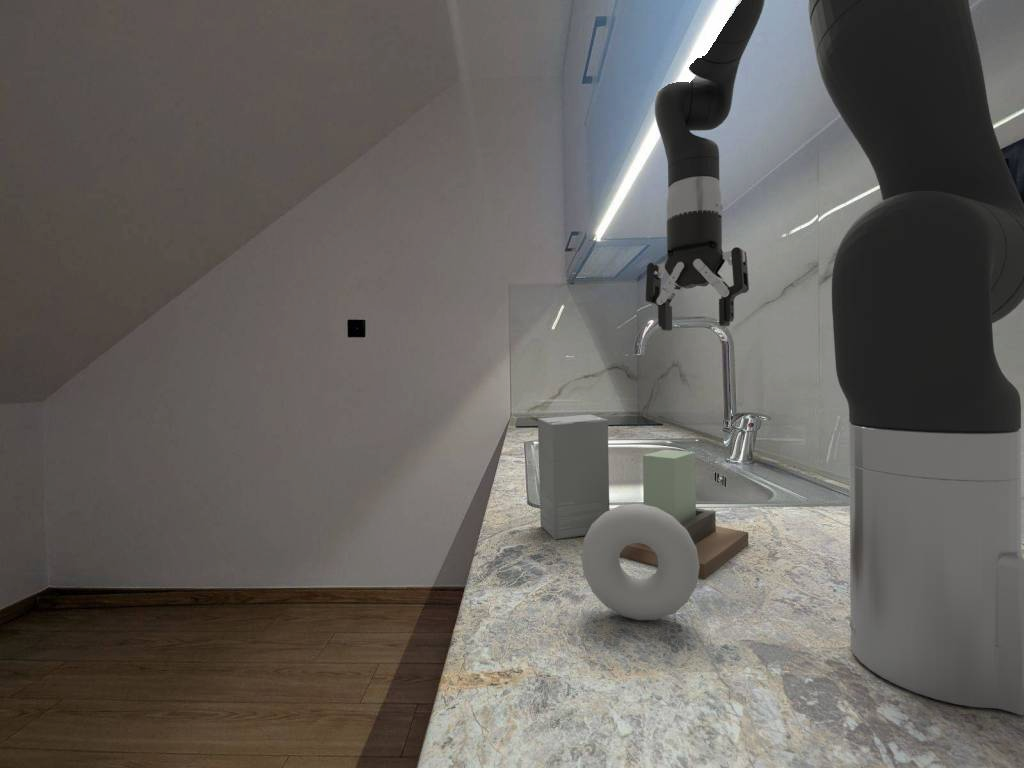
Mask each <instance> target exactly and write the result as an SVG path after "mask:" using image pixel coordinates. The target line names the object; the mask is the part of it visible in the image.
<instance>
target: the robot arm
mask: <svg viewBox="0 0 1024 768" xmlns="http://www.w3.org/2000/svg"><path fill="white" fill-rule="evenodd" d="M765 1H766V0H742V1H741V3H740V4H739V5H738V6H737V7H736V9H735V11H734V13H733V14H732V16H731V17H730V18H729V20H728V21H727V23H726V24H725V26H724V27H723V29H722V31H721V32H720V34H719V35H718V37H717V39H716V41H715V42H714V43H713V45H712V47H711V48H710V50H709V51H708V53H707V54H706V55H705V56H702V58H697V59H696V60H695V61H694V63H692V64H691V65H690V67H689V69H688V70H689V71H690V73H692V75H696V76H695V78H694V79H693V80H692V81H691V82H690V83H689V82H676V83H672V84H668V85H667V86H665V87H664V88H662V89H661V90H660V91H658V90H657V92H656V95H655V99H654V105H653V107H654V116H655V117H654V118H655V121H656V125H657V128H658V129H657V130H658V131H659V135H660V138H661V141H662V143H663V149H664V152H665V156H666V161H667V188H668V189H667V198H666V251H667V258H666V261H665V262H664V263H663V262H662V263H653V262H650V263H648V264H647V265H646V283H645V302H647V303H650V304H655V305H656V306H657V319H658V320H657V322H658V323H657V324H658V326H659V327H660V328H661V331H665V332H670V331H672V330H673V307H672V306H671V305H672V303H673V302H674V300H675V299H676V297H677V296H678V295H679V294H680V293H681V292H682V291H683V289H687V290H688V289H693V288H695V287H707V286H708V285H710V286H711V287H713V288H714V289H715V291H716V292H717V293H718V294H719V296H720V298H718V323H719V326H720V327H730V324H731V323H732V322H733V321H734V319H735V298H736V297H738V296H739V295H741V294H746V293H748V292H749V289H750V285H749V273H748V272H749V271H748V260H747V259H748V258H747V252H746V251H745V250H744V249H742V248H741V247H739V246H737V247H736V246H735V247H733V248H732V249H731V250H728V251H725V252H724V251H723V247H722V245H723V230H722V229H723V228H722V227H723V225H722V223H723V219H722V217H723V216H722V212H723V203H722V192H721V185H720V150H719V147H718V144H717V143H716V142H715V141H713V140H712V139H710V138H709V139H708V138H705V137H702V136H699V135H696V134H694V133H692V131H699V132H701V131H712V130H714V129H716V128H718V127H719V126H720V125H722V124H723V123H724V122H725V120H727V118H728V116H729V115H730V112H731V109H732V102H733V98H734V97H733V96H734V88H735V83H736V78H737V74H738V70H739V65H740V63H741V59H742V57H743V55H744V53H745V51H746V49H747V46H748V44H749V41H750V40H751V37H752V35H753V34H754V32H755V29H756V27H757V25H758V22H759V20H760V18H761V15H762V12H763V9H764V6H765ZM969 1H970V0H808V18H809V23H810V25H809V26H810V31H811V36H812V40H813V46H814V51H815V56H816V57H815V58H816V61H817V65H818V70H819V73H820V76H821V80H822V82H823V85H824V87H825V89H826V91H827V93H828V96H829V97H830V99H831V101H832V103H833V105H834V107H835V108H836V110H837V111H838V113H839V115H840V116H841V118H842V119H843V121H844V123H845V124H846V125H847V128H848V129H849V130H850V132H851V133H852V135H853V136H854V138H855V140H856V142H857V143H858V144H859V145H860V147H861V149H862V150H863V152H864V154H865V155H866V158H867V159H868V161H869V162H870V165H871V167H872V169H873V171H874V174H875V176H876V180H877V182H878V185H879V190H880V195H881V198H882V201H880V202H878V203H876V204H875V205H873V206H871V207H870V208H868V209H867V210H866V211H865V212H864V213H862V214H861V215H860V216H859V217H857V219H856V220H855V221H854V222H853V223H852V225H851V226H850V227H849V229H848V230H847V232H846V233H845V235H844V236H843V238H842V240H841V242H840V244H839V247H838V249H837V251H836V255H835V259H834V263H833V267H832V268H833V269H832V276H831V311H832V325H833V326H832V327H833V329H832V330H833V343H834V358H835V360H834V361H835V371H836V372H835V373H836V377H837V380H838V381H837V382H838V384H839V387H840V389H841V391H842V393H843V394H844V397H845V399H846V402H847V404H848V413H849V414H848V417H849V418H848V420H849V421H848V422H849V423H848V430H849V431H848V432H849V433H848V434H849V435H848V439H849V440H848V441H849V442H848V443H849V445H848V446H849V447H848V448H849V449H848V450H849V460H848V461H849V465H848V467H849V579H850V580H849V581H850V582H849V587H850V588H849V590H850V592H849V593H850V595H849V597H850V601H849V602H850V616H849V628H850V649H851V651H852V653H853V655H854V657H855V658H856V659H857V660H858V662H860V663H861V664H862V665H863V666H865V667H866V668H867V669H868V670H870V671H872V672H873V673H875V674H876V675H878V676H879V677H881V678H883V679H885V680H887V681H888V682H890V683H892V684H894V685H896V686H899V687H901V688H903V689H906V690H908V691H910V692H913V693H915V694H919V695H922V696H925V697H927V698H932V699H934V700H937V701H942V702H946V703H951V704H954V705H960V706H965V707H972V708H980V709H981V708H984V709H985V708H986V709H998V710H1003V711H1006V712H1010V713H1013V714H1017V715H1020V716H1024V555H1023V551H1022V477H1021V476H1022V432H1021V428H1022V405H1021V404H1022V403H1021V396H1020V392H1019V391H1018V389H1017V388H1016V387H1015V385H1014V384H1013V383H1011V381H1010V380H1009V379H1008V378H1007V377H1006V376H1005V374H1004V373H1003V371H1002V369H1001V368H1000V366H999V362H998V359H997V357H996V353H995V347H994V333H993V324H995V323H996V322H998V321H1000V320H1002V319H1003V318H1005V317H1006V316H1008V315H1009V314H1011V313H1012V312H1013V311H1014V310H1015V309H1016V308H1017V307H1018V306H1019V305H1020V304H1022V302H1023V301H1024V202H1023V200H1022V197H1021V196H1020V192H1019V191H1018V188H1017V186H1016V183H1015V181H1014V178H1013V175H1012V174H1011V172H1010V168H1009V167H1008V164H1007V161H1006V159H1005V157H1004V154H1003V152H1002V149H1001V146H1000V145H999V140H998V139H997V136H996V135H997V134H996V132H995V128H994V124H993V121H992V117H991V113H990V106H989V101H988V95H987V87H986V82H985V76H984V71H983V66H982V59H981V54H980V49H979V45H978V40H977V36H976V32H975V29H974V28H975V27H974V23H973V19H972V12H971V7H970V2H969ZM726 261H727V264H728V265H729V266H731V269H732V281H733V284H732V285H731V286H730V285H729V284H728V283H727V282H728V281H726V280H725V278H724V277H723V275H721V274H720V273H719V272H720V270H721V269H722V267H723V265H724V264H725V262H726ZM665 272H666V273H667V274H668V275H669V277H668V279H667V280H666V282H665V283H664V285H663V287H662V278H663V277H664V276H665ZM661 287H662V290H661Z"/></svg>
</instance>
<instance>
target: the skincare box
mask: <svg viewBox="0 0 1024 768" xmlns="http://www.w3.org/2000/svg"><path fill="white" fill-rule="evenodd" d="M537 435H538V437H537V439H538V440H537V443H538V445H537V446H538V475H539V478H538V480H539V482H538V483H539V506H540V507H539V511H540V526H541V527H542V529H544V530H545V531H546V532H547V533H548V534H549V535H550V536H551V537H552V538H553V539H554V540H561V539H563V540H564V539H569V538H577V537H583V536H584V537H585V536H586V535H587V533H588V531H589V529H590V527H591V525H592V524H593V523H594V522H595V521H596V520H597V519H598V518H599V517H600V516H601V515H602V514H603V513H605V512H607V511H609V510H611V509H610V467H609V466H610V465H609V463H610V461H609V420H608V419H607V418H603V417H600V416H597V415H594V414H581V415H570V416H557V417H556V416H555V417H540V418H539V417H538V418H537Z"/></svg>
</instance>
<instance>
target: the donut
mask: <svg viewBox="0 0 1024 768" xmlns="http://www.w3.org/2000/svg"><path fill="white" fill-rule="evenodd" d="M582 542H583V544H582V551H581V563H582V570H583V576H584V577H585V580H586V582H587V584H588V586H589V589H591V592H592V593H593V594H594V596H595V597H596V598H597V599H598V600H599V601H600V602H601V603H602V604H603V605H604V606H605V607H607V608H608V609H610V610H611V611H613V612H615V613H616V614H618V615H620V616H621V617H624V618H629V619H633V620H636V621H657V620H660V619H663V618H665V617H669V616H672V615H673V614H675V613H677V611H679V610H681V609H682V607H683V606H685V605H686V604H687V603H688V602H689V601H690V599H691V597H692V595H693V593H695V590H696V589H697V586H698V580H699V577H698V574H699V568H700V565H699V560H698V554H697V548H696V546H695V544H694V542H693V540H692V539H691V537H690V535H689V533H688V531H687V530H686V529H685V528H684V527H683V526H682V525H681V524H680V523H679V522H678V521H677V520H676V519H675V518H674V517H673V516H671V515H670V514H668V513H666V512H664V511H662V510H660V509H659V508H657V507H653V506H648V505H644V504H643V503H630V504H620V505H618V506H616V507H613V508H611V509H610V510H609V511H607V512H605V513H603V514H602V515H601V516H600V517H599V518H598V519H597V520H596V521H595V522H594V523H593V524H592V525H591V527H590V529H589V531H588V533H587V535H584V538H583V541H582ZM632 543H641V544H645V545H647V546H648V547H650V548H651V549H652V550H653V551H654V552H655V553H656V555H657V557H658V562H659V564H658V566H657V569H656V570H655V572H654V573H653V574H652V575H651V576H648V577H646V578H637V577H633V576H631V575H629V574H628V573H627V572H625V570H624V569H623V567H622V566H621V562H620V557H621V556H620V553H621V551H622V549H623V548H624V547H626V546H627V545H630V544H632Z"/></svg>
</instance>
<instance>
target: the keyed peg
mask: <svg viewBox="0 0 1024 768" xmlns="http://www.w3.org/2000/svg"><path fill="white" fill-rule="evenodd" d="M642 461H643V462H642V468H643V469H642V476H643V477H642V481H643V482H642V483H643V484H642V486H643V487H642V488H643V489H642V491H643V503H642V504H643V505H648V506H653V507H657V508H659V509H660V510H662V511H664V512H666V513H668V514H670V515H671V516H673V517H674V518H675V519H676V520H677V521H678V522H679V523H680V524H682V523H684V522H686V521H688V520H690V519H692V518H694V517H695V516H696V508H697V507H696V506H697V502H696V501H697V500H696V499H697V497H696V496H697V495H696V493H697V491H696V489H697V488H696V487H697V486H696V484H697V483H696V479H697V477H696V452H695V451H686V450H685V451H684V450H682V451H681V450H673V449H662V450H659V451H655V452H650V453H646V454H643V455H642Z"/></svg>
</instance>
